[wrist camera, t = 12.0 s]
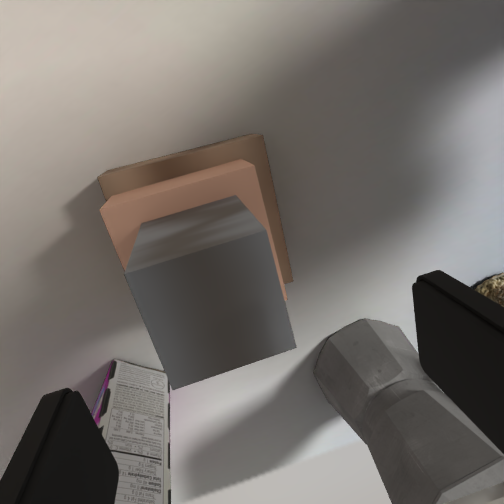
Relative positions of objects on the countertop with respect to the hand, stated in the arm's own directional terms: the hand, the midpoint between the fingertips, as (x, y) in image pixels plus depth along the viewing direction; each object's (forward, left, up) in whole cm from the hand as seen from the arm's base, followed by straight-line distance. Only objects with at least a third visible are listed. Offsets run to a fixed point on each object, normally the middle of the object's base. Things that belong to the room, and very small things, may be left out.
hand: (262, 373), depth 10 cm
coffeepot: (-10, +16, -19) cm, 27 cm away
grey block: (+1, 0, -11) cm, 11 cm away
